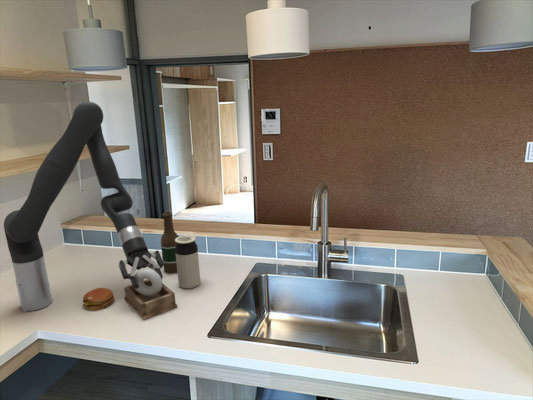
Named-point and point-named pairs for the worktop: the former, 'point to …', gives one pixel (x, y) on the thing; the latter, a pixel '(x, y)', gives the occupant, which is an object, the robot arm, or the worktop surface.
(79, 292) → the worktop surface
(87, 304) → the burger
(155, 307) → the walnut stand
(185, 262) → the travel mug
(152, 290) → the donut
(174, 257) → the beer bottle
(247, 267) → the worktop surface
